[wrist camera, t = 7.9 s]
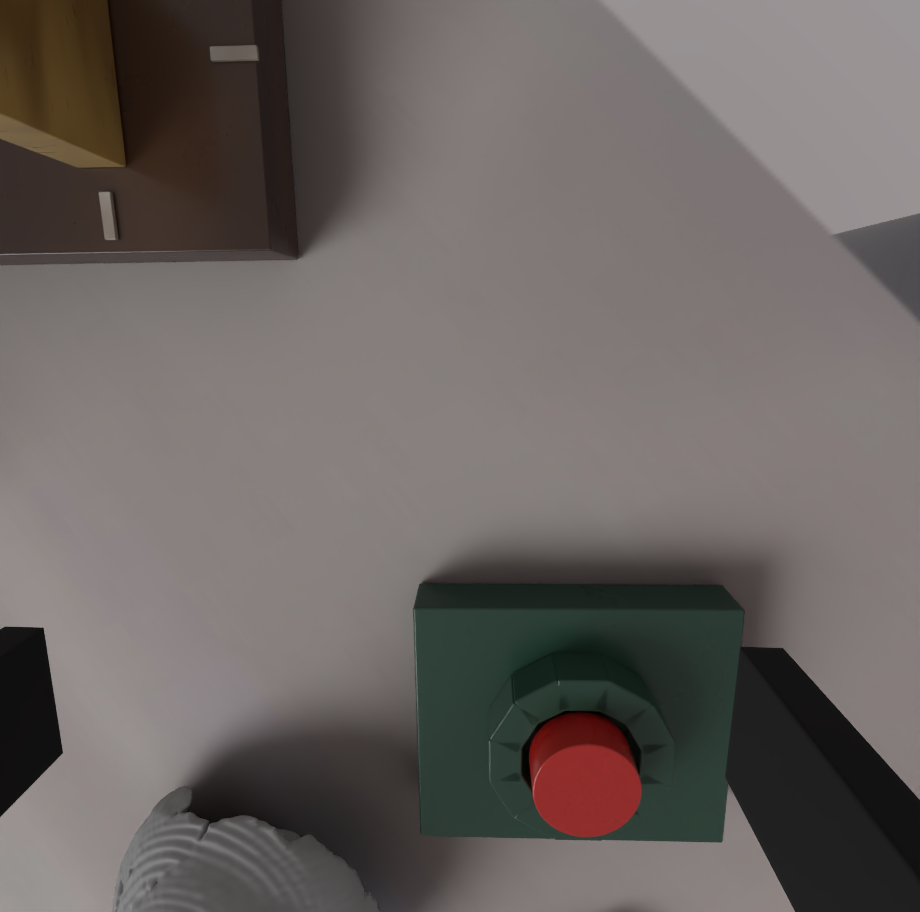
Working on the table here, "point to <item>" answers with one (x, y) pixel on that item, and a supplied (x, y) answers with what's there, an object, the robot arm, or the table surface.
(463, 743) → the green button panel
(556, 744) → the button
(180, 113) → the plate
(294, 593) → the table surface
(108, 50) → the gold block
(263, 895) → the grey clay mound
